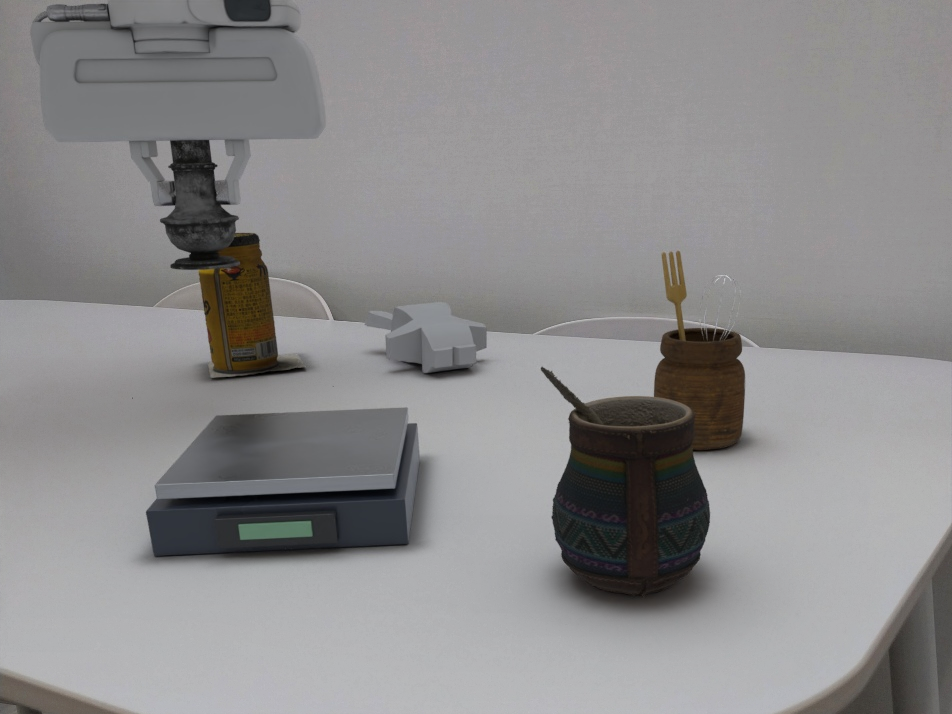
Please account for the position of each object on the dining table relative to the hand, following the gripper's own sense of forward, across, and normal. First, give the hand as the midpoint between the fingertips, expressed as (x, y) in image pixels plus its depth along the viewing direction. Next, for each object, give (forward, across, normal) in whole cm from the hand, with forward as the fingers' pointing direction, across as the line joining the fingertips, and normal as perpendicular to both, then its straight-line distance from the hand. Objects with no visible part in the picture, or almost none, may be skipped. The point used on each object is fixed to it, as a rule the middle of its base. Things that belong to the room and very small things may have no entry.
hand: (198, 205), depth 74 cm
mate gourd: (+15, +28, -38) cm, 49 cm away
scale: (+15, +11, -26) cm, 32 cm away
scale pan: (+12, +11, -26) cm, 31 cm away
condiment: (+15, +1, +11) cm, 19 cm away
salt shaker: (+5, 0, 0) cm, 5 cm away
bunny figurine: (+15, +17, +11) cm, 25 cm away
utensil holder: (+15, +36, -17) cm, 42 cm away
